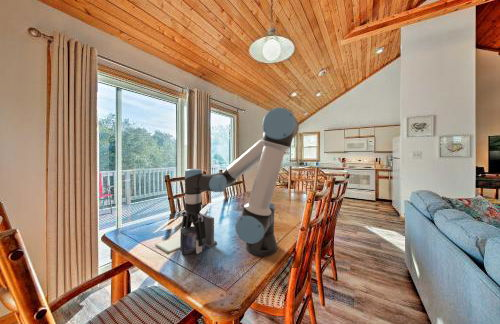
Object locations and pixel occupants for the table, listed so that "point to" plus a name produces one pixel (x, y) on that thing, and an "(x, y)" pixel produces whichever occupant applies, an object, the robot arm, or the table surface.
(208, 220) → the screen
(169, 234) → the table surface
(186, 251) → the small box
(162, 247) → the pad
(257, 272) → the table surface
